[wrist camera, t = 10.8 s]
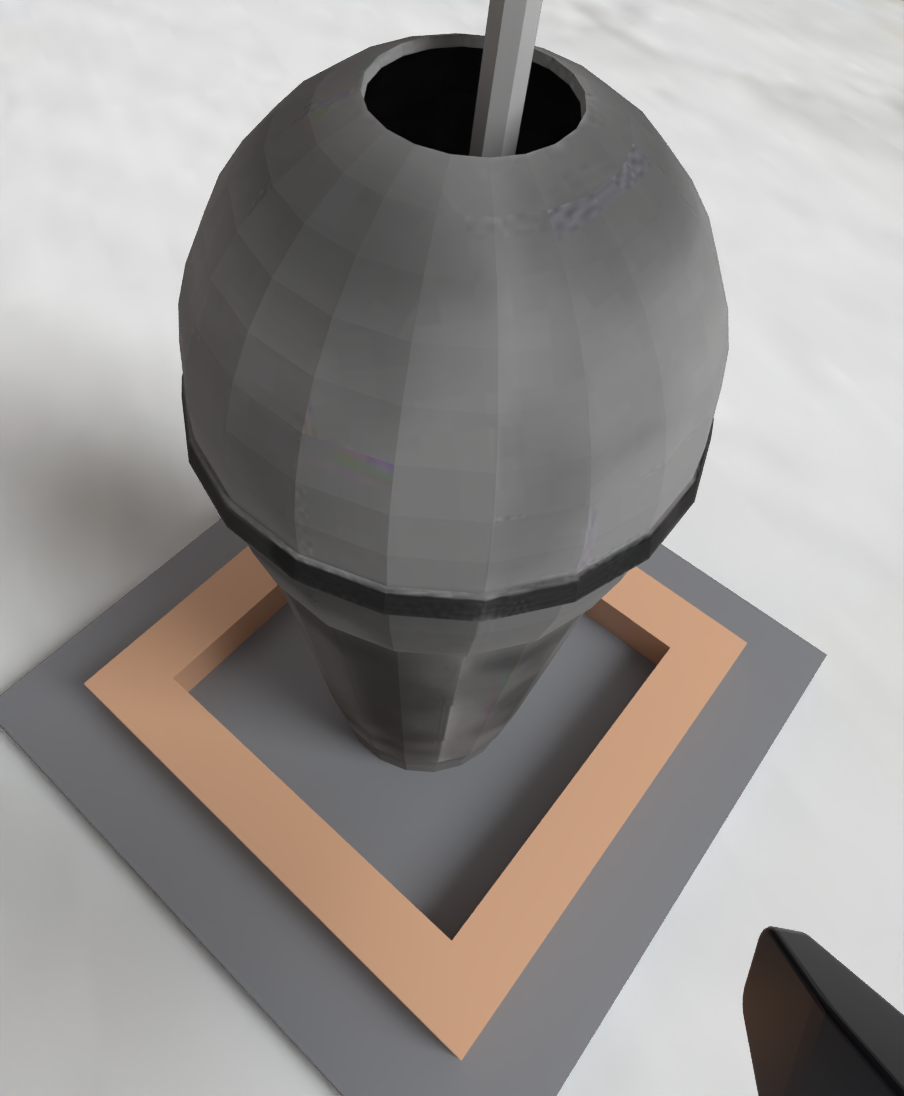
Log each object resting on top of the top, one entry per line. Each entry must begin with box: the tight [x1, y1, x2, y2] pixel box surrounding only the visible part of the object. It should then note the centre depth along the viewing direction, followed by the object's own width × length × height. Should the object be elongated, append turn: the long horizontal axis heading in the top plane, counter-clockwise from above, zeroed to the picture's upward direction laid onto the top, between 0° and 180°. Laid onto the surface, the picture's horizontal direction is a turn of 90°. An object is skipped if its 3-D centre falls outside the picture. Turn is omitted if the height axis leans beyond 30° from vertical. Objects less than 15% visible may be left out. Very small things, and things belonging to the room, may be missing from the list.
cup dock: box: [0, 518, 826, 1096], centre depth 20 cm, size 16×16×2 cm
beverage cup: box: [178, 0, 729, 772], centre depth 12 cm, size 7×7×20 cm
